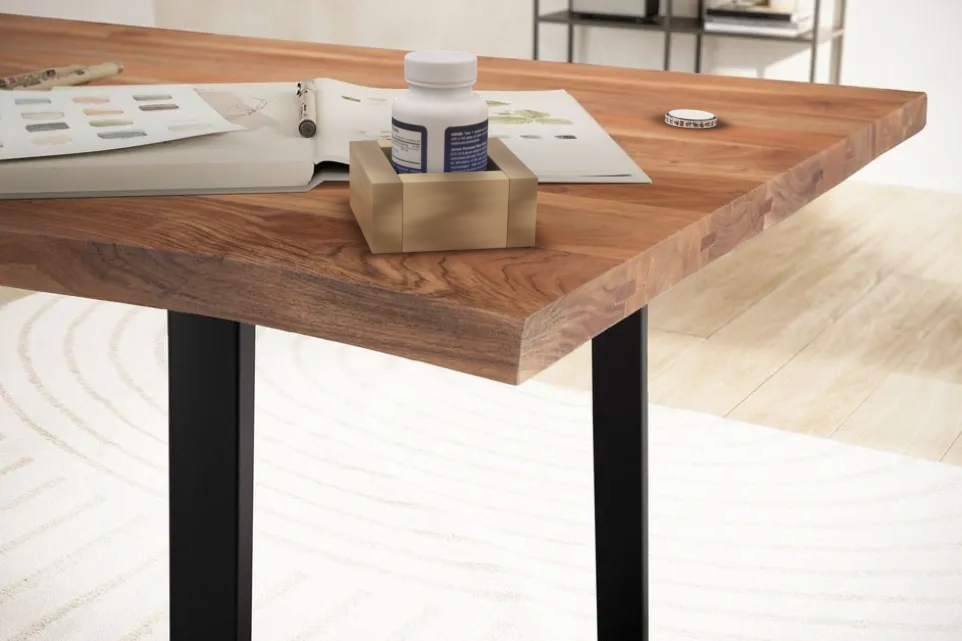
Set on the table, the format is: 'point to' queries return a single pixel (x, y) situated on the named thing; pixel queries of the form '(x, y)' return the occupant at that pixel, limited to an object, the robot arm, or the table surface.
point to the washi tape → (690, 118)
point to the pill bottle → (439, 115)
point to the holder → (442, 202)
